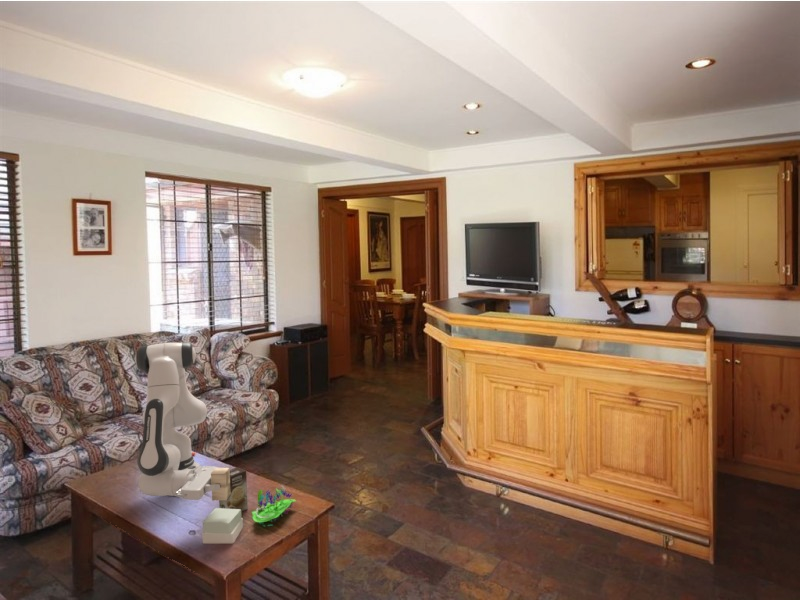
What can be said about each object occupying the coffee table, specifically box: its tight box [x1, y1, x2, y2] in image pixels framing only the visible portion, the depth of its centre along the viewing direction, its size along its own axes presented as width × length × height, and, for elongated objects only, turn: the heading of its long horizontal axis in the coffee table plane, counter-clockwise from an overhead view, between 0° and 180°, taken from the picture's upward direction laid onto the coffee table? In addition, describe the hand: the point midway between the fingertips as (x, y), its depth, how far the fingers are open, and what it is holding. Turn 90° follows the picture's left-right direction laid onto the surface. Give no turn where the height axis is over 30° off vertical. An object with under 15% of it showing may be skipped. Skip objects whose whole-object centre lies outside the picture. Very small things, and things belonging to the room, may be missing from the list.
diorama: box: [251, 485, 297, 528], centre depth 208 cm, size 14×20×12 cm
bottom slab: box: [201, 517, 244, 544], centre depth 197 cm, size 11×11×4 cm
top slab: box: [202, 507, 243, 534], centre depth 196 cm, size 10×10×4 cm
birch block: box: [211, 467, 231, 501], centre depth 194 cm, size 5×5×10 cm
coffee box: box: [218, 466, 249, 513], centre depth 213 cm, size 9×6×16 cm
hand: (223, 482), depth 194 cm, fingers closed on birch block, 5 cm apart
